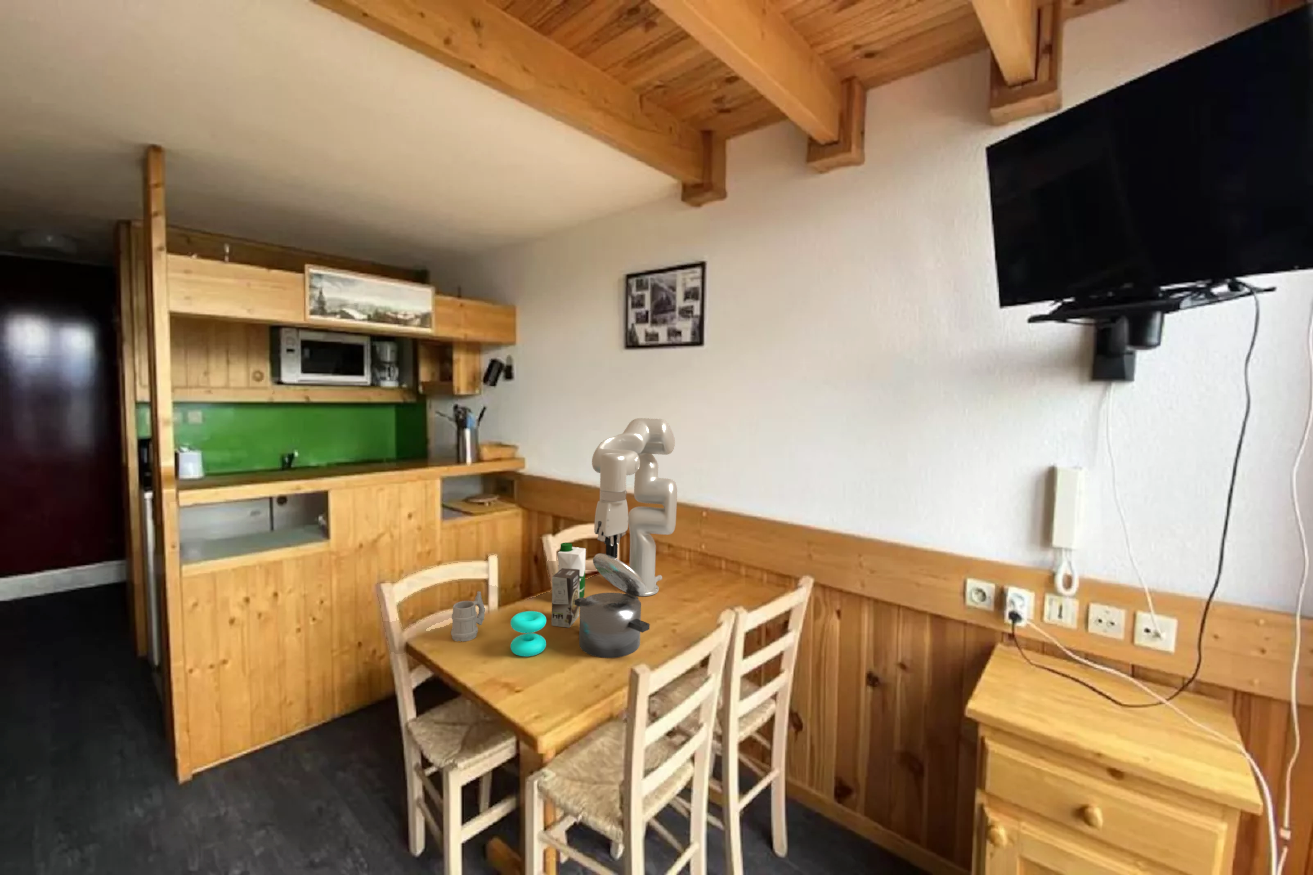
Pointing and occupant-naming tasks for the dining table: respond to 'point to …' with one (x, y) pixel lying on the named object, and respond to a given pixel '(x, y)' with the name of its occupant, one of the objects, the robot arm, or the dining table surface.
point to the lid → (619, 574)
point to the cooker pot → (610, 624)
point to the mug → (467, 619)
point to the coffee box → (565, 597)
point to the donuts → (528, 633)
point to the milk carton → (573, 562)
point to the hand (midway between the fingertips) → (611, 557)
